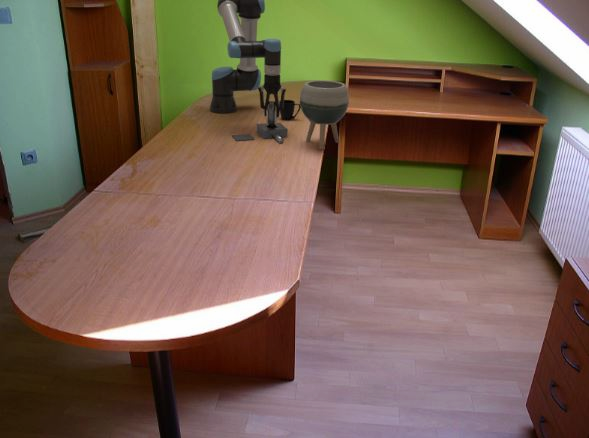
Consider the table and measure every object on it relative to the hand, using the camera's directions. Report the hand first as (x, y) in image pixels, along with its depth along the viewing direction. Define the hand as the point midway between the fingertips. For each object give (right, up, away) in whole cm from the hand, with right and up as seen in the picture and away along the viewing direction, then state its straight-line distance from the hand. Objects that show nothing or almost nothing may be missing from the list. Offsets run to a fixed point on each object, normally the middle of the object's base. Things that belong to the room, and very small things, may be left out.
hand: (271, 123), depth 262 cm
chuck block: (+1, -7, -1) cm, 7 cm away
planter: (+24, -12, -10) cm, 28 cm away
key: (0, -4, +2) cm, 4 cm away
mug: (+8, +7, +29) cm, 31 cm away
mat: (-14, -8, -4) cm, 16 cm away
